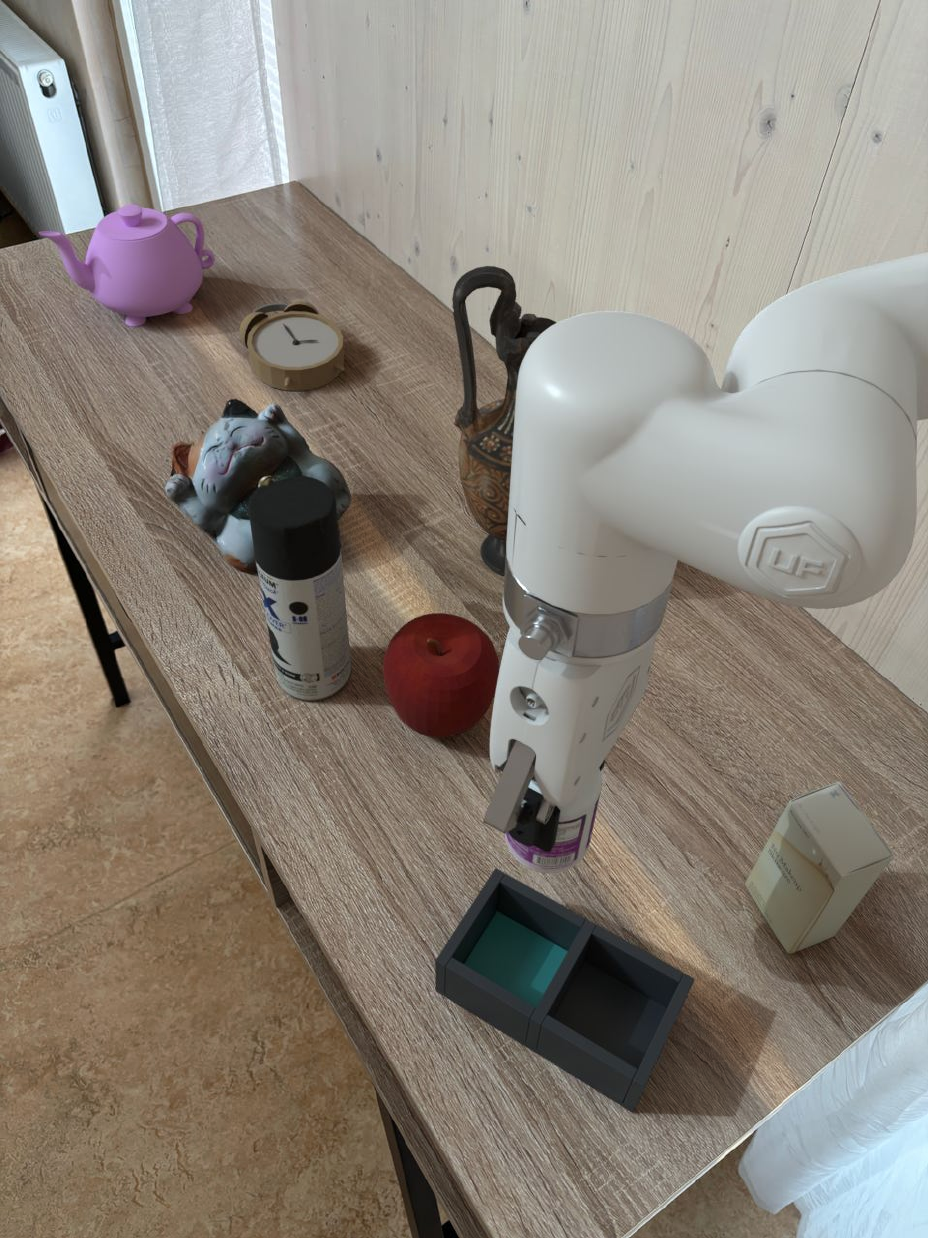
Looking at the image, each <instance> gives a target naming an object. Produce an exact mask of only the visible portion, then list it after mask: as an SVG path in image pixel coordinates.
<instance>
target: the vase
mask: <svg viewBox="0 0 928 1238" xmlns="http://www.w3.org/2000/svg"><path fill="white" fill-rule="evenodd" d="M484 288H492V289H498V290H499V291H500V294H499V296H498V297H497V300H496V302H495V304H494V306H493V308H492V310H491V313H490V317H489V329H490V335H492V337H493V336H494V338H495V340H494V341H495V349H496V354H497V357H498V359H499V360H500V361H501V362H503V364H504V366H505V370H506V375H507V379H506V380H507V381H506V387H505V393H504V394H505V395H504V398H501V399H497V400H495V401H492V402H490V403H487V404H485V405H483V406H482V407H480V408H478V403H477V402H478V401H477V395H478V394H477V392H478V391H477V371H476V363H475V354H474V346H473V338H472V332H471V326H470V322H469V317H468V311H467V310H468V309H467V303H466V300H467V298H468V297H469V296H470V295H471V294H472V293H473V292H475V291H476V290H479V289H484ZM516 289H517V287H516V282H515V280H514V277H513V276H512V274H511V273H510V272H509V271H508V270H506V269H504V268H501V267H498V266H494V265H484V266H483V265H482V266H479V267H475V268H473V269H471V270H469V271H467V272H465V273H464V274H463V275H461V276H460V277H459V279H458V280H457V281H456V283H455V285H454V288H453V292H452V299H451V301H452V304H451V305H452V306H451V308H452V310H453V312H452V315H453V322H454V327H455V333H456V339H457V344H458V345H457V346H458V351H459V357H460V358H459V359H460V367H461V372H462V382H463V383H462V384H463V385H462V386H463V404H462V406H461V407H460V408H459V409H458V410H457V411H456V414H455V418H454V423H453V425H454V426H455V427H457V429H459V431H460V432H461V433H460V438H459V444H458V469H459V477H460V483H461V487H462V490H463V495H464V498H465V501H466V504H467V506H468V509H469V510H470V511H469V512H470V514H471V516H473V517H472V518H473V519H474V520H475V522H476V523H477V524H478V525H479V526H480V528H481V529H482V530H483V531H485V532H486V533H487V534H488V535H487V536H486V537H485V538H484V539H483V541H482V543H481V545H480V557H481V559H482V561H483V563H484V564H485V565H486V566H487V568H488V569H490V570H491V571H492V572H494V573H495V574H498V575H500V576H504V574H505V559H506V541H507V526H508V511H509V495H510V480H511V465H512V450H513V434H514V419H515V404H516V390H517V382H518V374H519V370H520V366H521V363H522V361H523V359H524V356H525V354H526V352H527V350H528V349H529V347H530V345H531V344H532V343H533V342H534V341H535V340H536V338H537V337H538V336H539V335H540V334H541V333H542V332H544V331H545V330H546V329H548V328H549V327H550V326H552V325H554V324H556V323H558V322H556V321H555V320H553V319H551V318H548V317H542V316H539V317H538V316H537V315H536V314H534V313H524V314H523V315H522V310H523V308H522V306H521V305H520V304H519V303H518V302H517V290H516Z"/></svg>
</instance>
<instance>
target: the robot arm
mask: <svg viewBox="0 0 928 1238" xmlns="http://www.w3.org/2000/svg"><path fill="white" fill-rule="evenodd" d="M721 383H722V384H721V387H719V385H718V383H717V380H716V375H715V370H714V368H713V365H712V363H711V361H710V358H709V357H708V355H707V353H706V352H705V351H704V349H703V348H702V346H701V345H700V344H699V343H698V342H697V341H696V340H695V339H694V338H693V337H692V336H690V335H689V334H687V333H686V332H685V331H684V330H682V329H680V328H678V327H677V326H675V325H673V324H671V323H669V322H667V321H665V320H663V319H661V318H657V317H654V316H651V315H647V314H642V313H639V312H631V311H626V310H625V311H624V310H598V311H589V312H583V313H579V314H576V315H573V316H570V317H568V318H565V319H562V320H560V321H558V322H557V323H556V324H554V325H552V326H550V327H549V328H548V329H546V330H545V331H544V332H542V333H541V334H540V335H539V336H538V337H537V338H536V340H535V341H534V342H533V343H532V344H531V345H530V347H529V349H528V350H527V352H526V354H525V356H524V359H523V361H522V363H521V366H520V370H519V374H518V382H517V390H516V404H515V419H514V434H513V450H512V465H511V480H510V495H509V511H508V526H507V541H506V559H505V574H504V575H503V588H502V609H503V614H504V618H505V619H506V622H507V624H508V626H509V629H508V632H507V635H506V637H505V638H506V640H505V643H504V647H503V652H502V657H501V662H500V664H499V675H498V681H497V686H496V692H495V696H494V698H493V706H492V713H491V721H490V731H489V759H490V764H491V767H492V769H493V772H494V773H496V774H498V773H499V772H502V773H501V775H500V778H499V780H498V783H497V785H496V787H495V789H494V792H493V795H492V797H491V800H490V802H489V804H488V807H487V809H486V812H485V814H484V817H483V819H482V820H483V823H484V824H486V825H487V826H489V827H492V828H493V829H495V830H497V831H499V832H500V833H503V835H505V833H507V832H509V834H510V836H511V837H512V838H513V839H514V840H516V841H517V842H519V843H521V844H523V845H525V846H528V847H532V846H533V845H534V846H536V847H537V848H539V849H541V850H543V851H545V852H551V850H552V848H553V847H554V845H555V841H556V835H557V829H558V823H559V817H560V811H561V810H560V809H559V808H558V807H557V806H560V807H565V806H568V805H570V804H572V803H574V802H575V801H576V800H577V799H578V798H579V797H580V796H581V794H582V793H583V792H584V790H585V789H586V787H587V786H588V784H589V783H590V781H591V780H592V778H593V777H594V775H595V773H596V772H597V770H598V769H600V772H601V773H602V771H603V769H604V767H605V764H606V758H607V756H608V755H609V753H610V752H611V751H612V748H613V747H614V745H615V744H616V742H617V740H618V739H619V738H620V736H621V734H622V733H623V731H624V730H625V728H626V726H627V724H628V723H629V721H630V720H631V718H632V717H633V715H634V713H635V711H636V710H637V708H638V706H639V705H640V702H641V701H642V699H643V697H644V695H645V692H646V690H647V688H648V687H647V686H648V682H649V678H650V673H651V667H652V662H653V656H654V652H655V651H654V650H655V644H656V639H657V636H658V635H659V633H660V631H661V630H662V627H663V623H664V618H665V613H666V611H667V606H668V603H669V598H670V594H671V590H672V585H673V582H674V578H675V572H676V569H677V565H678V562H681V563H683V564H685V565H688V566H689V567H692V568H694V569H696V570H698V571H701V572H703V573H705V574H707V575H709V576H711V577H714V578H715V579H718V580H720V581H722V582H723V583H726V584H728V585H731V586H733V587H735V588H737V589H739V590H741V591H745V592H747V593H749V594H752V595H754V596H756V597H760V598H762V599H766V600H768V601H771V602H775V603H779V604H782V605H786V606H791V607H796V608H805V609H815V610H830V609H839V608H843V607H844V608H845V607H848V606H851V605H856V604H859V603H861V602H864V601H866V600H868V599H870V598H871V597H873V596H876V595H878V594H879V593H880V592H881V591H883V590H884V589H885V588H886V587H888V586H889V584H891V583H892V582H893V581H894V579H895V578H896V577H897V576H898V575H899V573H900V571H902V569H903V566H904V565H905V563H906V562H907V559H908V557H909V554H910V552H911V549H912V547H913V543H914V539H915V538H914V537H915V531H916V527H917V515H918V514H917V512H918V510H917V509H918V497H917V496H918V488H917V487H918V485H917V484H918V483H917V476H918V475H917V454H918V453H917V449H918V448H917V446H918V445H917V444H918V422H919V421H923V420H928V251H926V252H922V253H917V254H913V255H909V256H904V257H900V258H896V259H892V260H887V261H882V262H878V263H875V264H870V265H866V266H862V267H859V268H855V269H851V270H850V269H849V270H847V271H844V272H840V273H836V274H834V275H829V276H827V277H824V278H821V279H818V280H815V281H813V282H810V283H807V284H805V285H803V286H800V287H799V288H796V289H794V290H792V291H791V292H789V293H786V294H785V295H782V296H781V297H779V298H777V299H775V300H774V301H773V302H771V303H770V304H769V305H767V306H765V307H764V308H763V309H762V310H761V311H760V312H758V313H757V314H756V315H755V316H754V317H753V318H752V320H751V321H750V322H748V324H747V325H746V326H745V327H744V329H743V330H742V331H741V333H740V334H739V337H738V338H737V339H736V341H735V344H734V345H733V347H732V350H731V352H730V355H729V358H728V361H727V365H726V368H725V372H724V376H723V380H722V382H721ZM531 780H533V781H535V782H537V784H538V786H539V789H540V791H541V793H542V794H540V793H538V792H536V791H534V790H533V789H531V788H529V784H530V782H531ZM556 805H557V806H556Z"/></svg>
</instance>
